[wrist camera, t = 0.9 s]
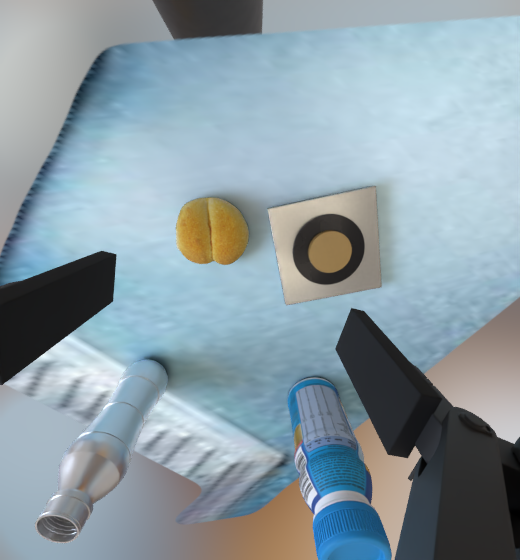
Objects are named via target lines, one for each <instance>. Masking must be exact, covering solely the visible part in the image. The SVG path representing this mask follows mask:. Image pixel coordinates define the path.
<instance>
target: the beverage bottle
mask: <svg viewBox="0 0 520 560" xmlns="http://www.w3.org/2000/svg"><path fill="white" fill-rule="evenodd" d="M288 407H289V411H290V416H291V423H292V430H293V437H294V444H295V464H296V468H297V471H298V473H299V475H300V478H299V486H300V490H301V493H302V495H303V498H304V500H305V502H306V503H307V505H308V507H309V508H310V510H311V511H312V512H313V514H314V518H313V531H314V539H315V545H316V551H317V556H318V560H391V557H392V554H391V549H390V544H389V541H388V538H387V536H386V533H385V530H384V528H383V525H382V522H381V520H380V517H379V515H378V513H377V512H376V510H375V508H374V507H373V506H372V505H371V500H372V499H371V498H372V480H371V475H370V472H369V469H368V467H367V466H366V465H365V464H364V456H363V452H362V449H361V446H360V444H359V443H358V441H357V440H356V437H355V435H354V432H353V430H352V427H351V425H350V422H349V420H348V417H347V415H346V413H345V410H344V408H343V405H342V403H341V400H340V397H339V394H338V392H337V390H336V388H335V387H334V385H333V384H332V383H330V382H329V381H327V380H325V379H322V378H316V377H313V378H306V379H303V380H301V381H299V382H298V383H296V384H295V385H294V386H293V387H292V388H291V390H290V392H289V395H288Z"/></svg>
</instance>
